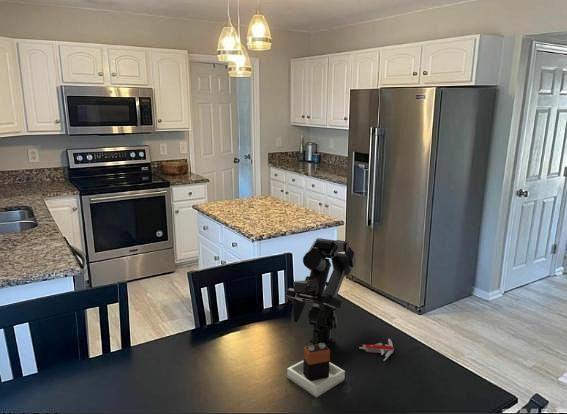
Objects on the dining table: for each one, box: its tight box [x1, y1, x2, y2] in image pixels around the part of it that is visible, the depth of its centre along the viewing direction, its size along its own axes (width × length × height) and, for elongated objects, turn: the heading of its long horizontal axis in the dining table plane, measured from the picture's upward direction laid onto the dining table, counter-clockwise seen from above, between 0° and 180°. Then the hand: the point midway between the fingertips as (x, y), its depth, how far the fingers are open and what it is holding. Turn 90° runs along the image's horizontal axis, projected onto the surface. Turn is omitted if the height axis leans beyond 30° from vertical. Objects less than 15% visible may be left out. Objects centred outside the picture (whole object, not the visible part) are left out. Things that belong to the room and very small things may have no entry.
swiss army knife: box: [358, 338, 395, 362], centre depth 138 cm, size 12×14×2 cm
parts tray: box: [286, 359, 346, 398], centre depth 123 cm, size 12×12×3 cm
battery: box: [303, 343, 331, 381], centre depth 122 cm, size 4×7×10 cm, turn 110°
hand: (306, 325), depth 129 cm, fingers open, 9 cm apart
